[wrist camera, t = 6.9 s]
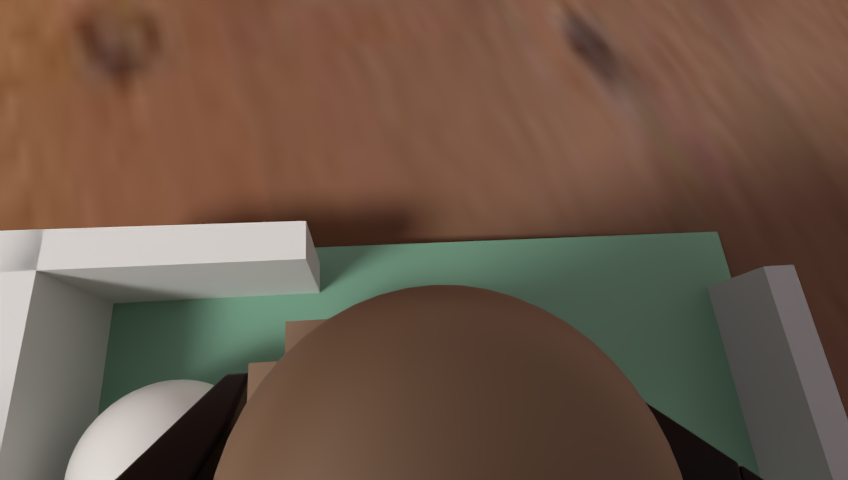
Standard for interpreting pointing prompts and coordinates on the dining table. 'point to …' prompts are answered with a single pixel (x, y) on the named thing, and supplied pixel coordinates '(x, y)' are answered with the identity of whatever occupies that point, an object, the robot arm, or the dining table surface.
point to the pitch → (390, 271)
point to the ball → (131, 428)
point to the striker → (443, 398)
